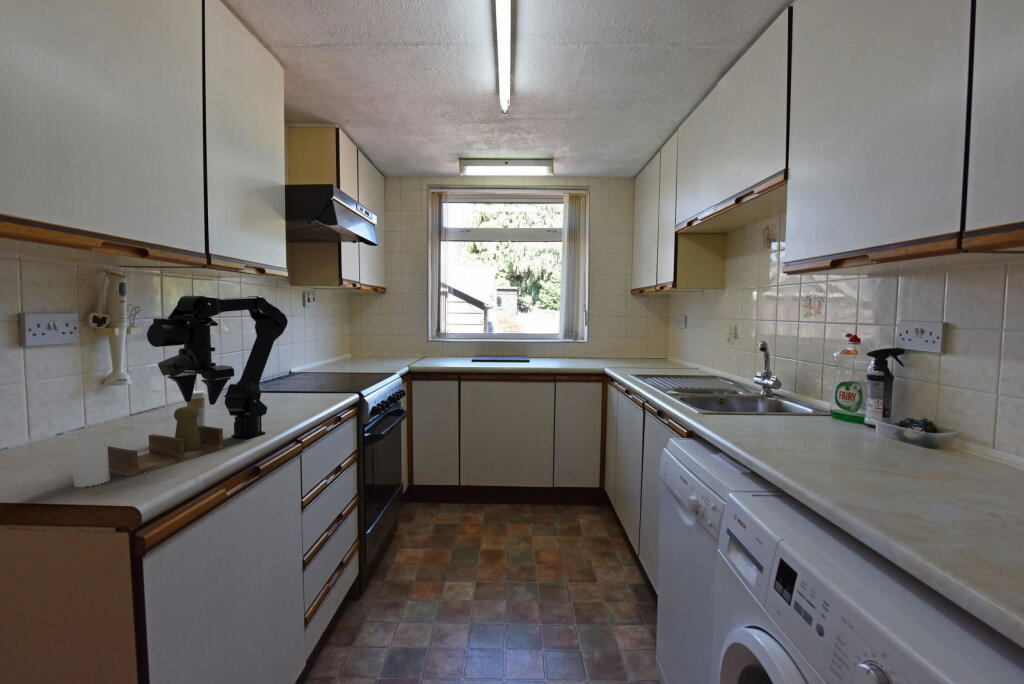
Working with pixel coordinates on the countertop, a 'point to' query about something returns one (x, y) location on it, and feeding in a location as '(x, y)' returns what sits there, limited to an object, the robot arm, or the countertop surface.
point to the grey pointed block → (89, 460)
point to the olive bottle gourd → (188, 427)
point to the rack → (162, 452)
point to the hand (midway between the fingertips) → (200, 403)
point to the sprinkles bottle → (199, 405)
